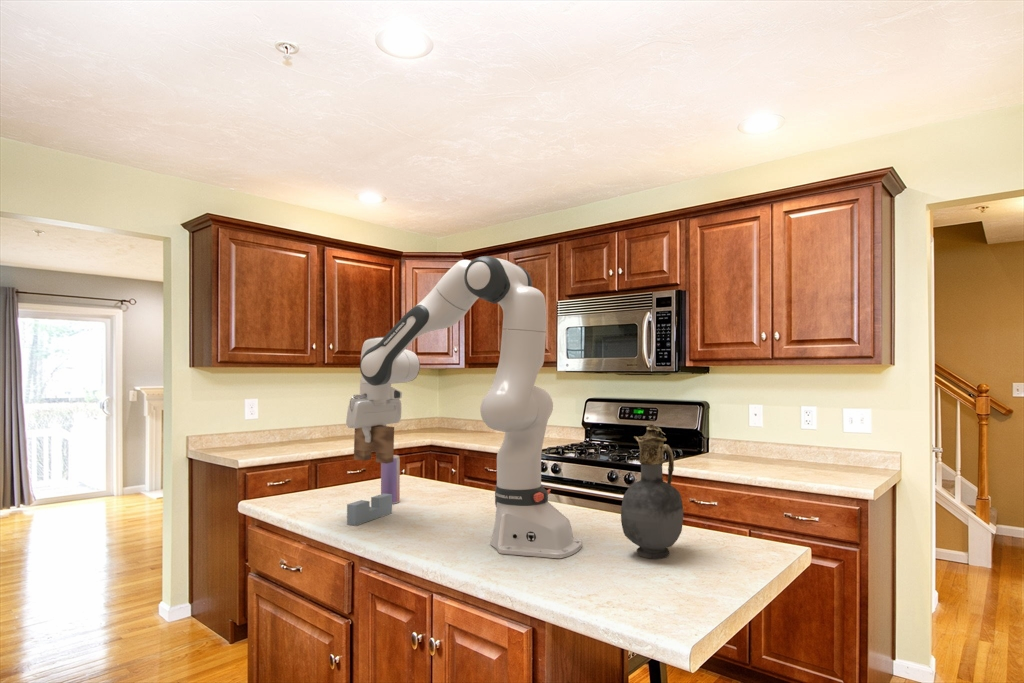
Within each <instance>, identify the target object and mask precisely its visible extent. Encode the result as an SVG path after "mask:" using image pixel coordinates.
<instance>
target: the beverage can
mask: <svg viewBox="0 0 1024 683" xmlns="http://www.w3.org/2000/svg"><path fill="white" fill-rule="evenodd" d="M400 462H401V459H400V455H397V454H394V455H393V462H391V463H387V464H386V463H380V495H381V494H392V505H396V504H399V502H400V499H401V498H400V497H401V496H400V492H401V490H400V486H401V481H400V480H401V478H400V476H401V472H400V471H401V470H400V469H401V468H400V467H401V466H400V464H401V463H400Z"/></svg>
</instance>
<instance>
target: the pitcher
mask: <svg viewBox="0 0 1024 683" xmlns="http://www.w3.org/2000/svg"><path fill="white" fill-rule="evenodd" d="M645 427H646V432H645V434H643V435H642V436H641V435H640V436H635V435H634V436H633V438H634V439H635V441H637V443H638V446H639V464H640V480H638V481H636V482H634V483H632V484H631V485H630V486H629V487H628V488H627V490H625V492H624V494H623V497H622V502H621V506H620V507H621V509H620V521H621V527H622V531H623V534H624V536H625V537H626V539H628V540H629V541H630V542H631V543H632V544H635V545H636V546H637V547H638V548H636V554H637V555H638V556H640V557H642V558H645V559H650V560H651V559H652V560H653V559H655V560H657V559H664V558H667V557H668V556H669V555H670V550H669V548H670V547H673V546H674V545H675V543H676V542H677V541H678V539H679V538H680V535H682V534H681V533H682V530H683V524H684V522H683V521H684V504H683V500H682V495H681V493H680V491H678V489H676V487H674V486H673V485H671V484H672V480H673V473H674V470H675V469H674V466H675V465H674V462H675V461H674V454H673V450H672V448H671V447H670V445H669V444H666V443H665V444H664V442H666V441H667V438H666V437H665V436H666V433H664V432H663V431H662V428H660V427H659V426H656V425H655V424H652V423H647V425H645ZM665 452H666V454H667V457H668V468H667V474H668V475H667V480H666V481H667V482H666V481H664V480H663V464H664V453H665Z"/></svg>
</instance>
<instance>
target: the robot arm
mask: <svg viewBox="0 0 1024 683" xmlns="http://www.w3.org/2000/svg"><path fill="white" fill-rule="evenodd" d="M479 299H480V300H484V301H486V302H489V303H491V304H492V305H493V304H498V305H499V306H500V307H501V309H502V313H503V316H502V317H503V318H502V329H501V332H502V333H501V339H500V340H501V341H500V351H499V352H500V354H499V360H498V365H497V367H496V368H497V369H496V372H495V374H494V377H493V381H492V383H491V386H490V388H489V390H488V392H487V394H485V395H484V397H483V398H482V401H481V403H480V417H481V419H482V421H483V423H484V425H486V426H487V427H488V428H490V429H491V430H493V431H498V432H503V433H504V437H503V441H502V443H501V446H500V447H499V449H498V451H497V454H496V485H495V488H494V490H495V491H494V504H495V520H494V526H493V530H492V531H493V532H492V536H491V540H490V545H491V547H493V548H495V549H496V550H497V552H498V553H499V554H501V555H502V554H503V555H516V556H525V557H538V558H551V559H562V558H567V557H570V556H572V555H574V554H576V553H577V552H579V551H580V550H581V549H582V546H583V543H582V540H581V539H580V538H577V537H576V538H575V537H574V536H573V535H574V534H573V529H572V528H573V527H572V524H571V521H570V520H569V518H568V517H567V516H566V515H564V514H563V513H562V512H561V511H559V509H557V508H556V507H555V506H554V505H553V504H552V503H550V502H549V495H550V494H551V490H552V489H551V488H549V489H545V487H544V486H543V485H542V454H543V453H542V451H543V445H544V439H545V436H546V435H545V434H546V431H547V425H548V421H549V419H550V417H551V415H552V413H553V410H554V409H553V408H554V402H553V398H552V397H551V394H550V393H549V392H548V391H546V390H545V389H543V388H541V387H539V386H535V383H536V380H537V377H538V374H539V372H540V370H541V369H542V367H543V365H544V362H545V352H546V338H547V325H548V324H547V320H548V319H547V305H546V298H545V295H544V293H543V292H542V291H541V290H540V289H538V288H536V287H533V280H532V277H531V275H530V273H529V272H528V271H527V270H526V269H525V268H523V267H522V266H520V265H518V264H515V263H513V262H510V261H509V260H506V259H502V258H498V257H494V256H490V255H484V256H483V255H482V256H479V257H476V258H474V259H472V260H469V259H461V260H459V261H457V262H456V263H455V264H454V265H453V266H452V267H451V268H449V269H448V270H447V271H446V273H444V275H443V276H442V277H441V278H440V279H439V280H438V282H437V283H436V284H435V285H434V287H433V288H432V289H431V290H430V292H429V293H428V294H427V295H425V297H424V298H423V299H422V300H421V301H420V302H418V303H417V304H416V305H415V306H413V307H412V308H411V309H410V310H408V311H407V312H406V313H405V315H403V316H402V317H401V318H400V320H398V322H397V323H396V324H395V325H393V327H392V328H391V329H390V330H389V331H388V333H386V334H385V336H378V337H377V336H375V337H370V338H368V339H367V338H366V340H364V342H363V344H362V348H361V352H360V353H361V354H360V363H359V369H360V374H361V378H360V382H359V394H353V395H352V397H350V399H349V403H348V407H347V412H346V422H345V423H346V427H347V428H349V429H355V428H362V431H363V433H364V435H365V442H368V443H369V442H373V436H371V433H370V430H371V426H387V425H392V424H398V423H400V421H401V419H402V401H401V399H402V398H403V397H402V396H403V392H402V391H401V390H398V389H396V388H395V387H392V384H405V383H406V384H407V383H411V382H413V381H415V379H417V377H418V375H419V374H420V371H421V363H420V359H419V356H418V355H417V354H416V353H415V352H414V351H413V350H409V349H407V348H408V347H409V346H410V345H411V344H412V342H413V341H415V339H417V338H418V337H421V336H422V335H424V334H427V333H430V332H433V331H437V330H443V329H448V328H450V327H453V326H455V325H456V324H457V323H458V322H460V321H461V320H462V319H463V318H464V317H465V316H466V314H467V313H468V311H469V310H470V309H471V308H472V306H473V305H474V304H475V303H476V301H477V300H479Z"/></svg>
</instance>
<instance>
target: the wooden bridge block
mask: <svg viewBox="0 0 1024 683" xmlns="http://www.w3.org/2000/svg"><path fill="white" fill-rule="evenodd" d="M370 433H371V436H373V442H369V443H368V442H365V435H364V433H363V431H362V428H354V437H353V438H354V439H353V442H354V444H353V460H355V461H362V462H365V461H371V460H372V453H375V463H378V464H379V463H380V464H381V463H386V464H387V463H391V462H393V455H395V454H394V453H395V452H394V450H395V448H394V447H395V426H387V425H386V426H371V430H370Z"/></svg>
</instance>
